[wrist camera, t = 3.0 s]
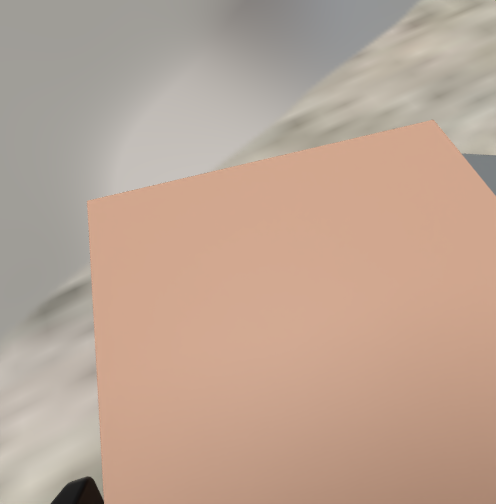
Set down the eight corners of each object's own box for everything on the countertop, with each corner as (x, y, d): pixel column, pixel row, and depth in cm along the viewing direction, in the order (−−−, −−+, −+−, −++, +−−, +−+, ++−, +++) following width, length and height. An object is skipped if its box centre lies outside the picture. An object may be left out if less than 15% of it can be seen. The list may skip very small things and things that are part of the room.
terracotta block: (359, 463, 14) (786, 550, 3) (240, 503, 13) (122, 830, 2) (314, 344, 16) (433, 119, 5) (212, 375, 16) (87, 200, 4)
